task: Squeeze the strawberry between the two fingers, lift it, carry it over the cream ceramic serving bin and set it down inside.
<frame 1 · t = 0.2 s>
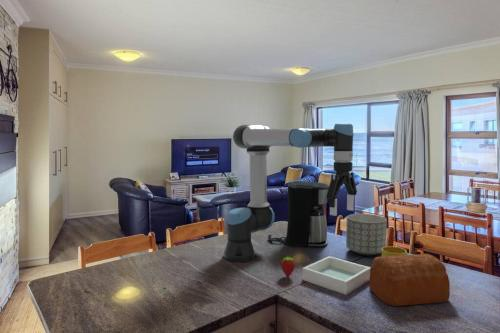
hand: (342, 212, 146), 27 cm above the kitchen counter, fingers open, 13 cm apart
serving bin: (336, 279, 145), on the kitchen counter
plant pot: (393, 271, 153), on the kitchen counter
strawberry: (288, 277, 148), on the kitchen counter
coffee maker: (300, 240, 199), on the kitchen counter
planter: (365, 253, 177), on the kitchen counter
bread: (407, 295, 131), on the kitchen counter
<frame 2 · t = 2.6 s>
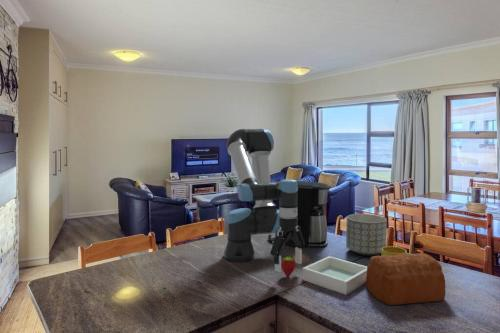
hand: (288, 267, 147), 4 cm above the kitchen counter, fingers open, 13 cm apart
bread: (403, 294, 132), on the kitchen counter
everything else where it was.
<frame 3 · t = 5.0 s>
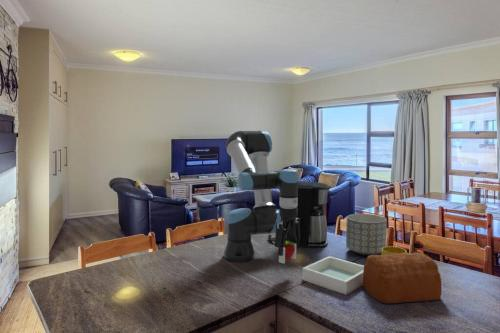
hand: (287, 260, 148), 7 cm above the kitchen counter, fingers closed on strawberry, 7 cm apart
strawberry: (287, 261, 148), point 7 cm above the kitchen counter, touching gripper
bread: (400, 293, 133), on the kitchen counter
everything else where it was.
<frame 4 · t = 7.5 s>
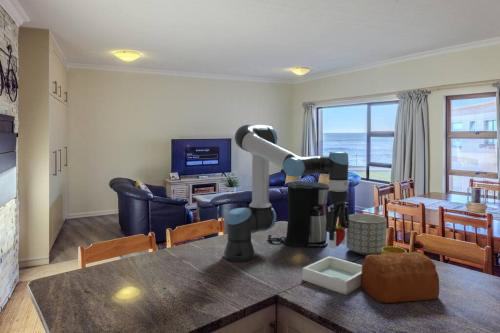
hand: (337, 245, 144), 14 cm above the kitchen counter, fingers closed on strawberry, 7 cm apart
strawberry: (337, 246, 144), point 14 cm above the kitchen counter, touching gripper
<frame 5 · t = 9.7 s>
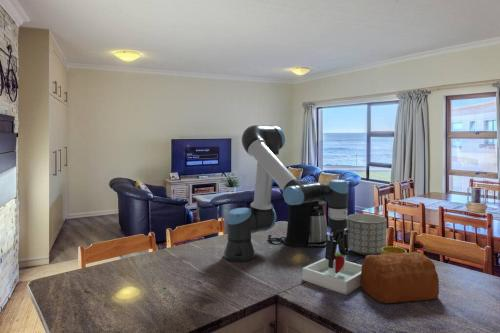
hand: (336, 272, 145), 3 cm above the kitchen counter, fingers closed on strawberry, 7 cm apart
strawberry: (336, 273, 145), point 2 cm above the kitchen counter, touching gripper
everything else where it was.
when the fingers open (3 cm above the kitchen counter, at t = 10.2 s): strawberry drops 2 cm, resting on serving bin.
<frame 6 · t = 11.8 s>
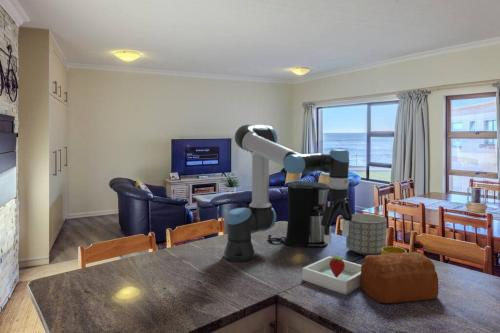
hand: (336, 239, 144), 17 cm above the kitchen counter, fingers open, 13 cm apart
strawberry: (336, 277, 145), point 1 cm above the kitchen counter, touching serving bin
bread: (397, 293, 133), on the kitchen counter, touching serving bin
everything else where it was.
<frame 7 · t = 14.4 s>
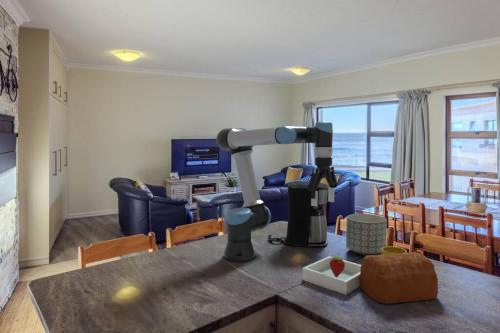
hand: (322, 203, 158), 29 cm above the kitchen counter, fingers open, 13 cm apart
at the end: strawberry inside the target area on the serving bin (0.1 cm from its centre), point 0.9 cm above the serving bin's base; the gripper is holding nothing; strawberry moved 19.9 cm from its start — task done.
